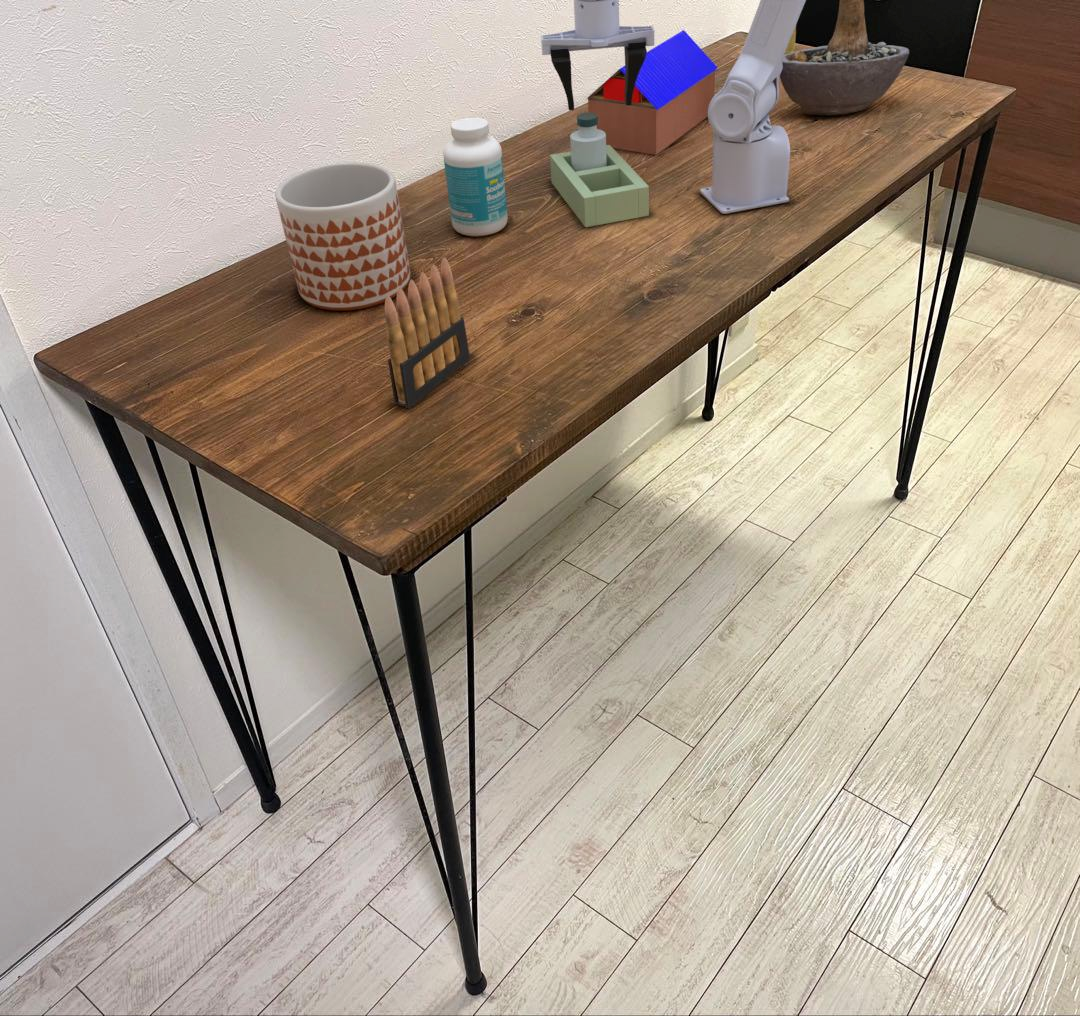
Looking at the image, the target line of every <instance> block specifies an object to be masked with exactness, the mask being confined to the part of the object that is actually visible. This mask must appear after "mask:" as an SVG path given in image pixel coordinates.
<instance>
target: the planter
mask: <svg viewBox="0 0 1080 1016" xmlns="http://www.w3.org/2000/svg"><path fill="white" fill-rule="evenodd" d="M864 1H865V0H839V5H838V12H837V20H836V23H835V27H834V28H835V29H834V32H833V35H832V36H831V39H830V40H829V41H828V44H827V45H821V46H817V47H810V48H805V49H799V50H795V51H794V52H791V53H790V54H785V55H784V56H783V58H782V65H783V69H782V71H781V74H780V77H779V80H780V83H781V85H782V87H783V89H784V91H785V93H786V94H787V96H788V98H789V99H790V101H792V102H793V103H795V104H798V105H799V106H800V107H801V110H802V112H803V113H804V114H805V115H815V116H841V115H848V114H852V113H857V112H860V111H861V112H862V111H864V110H865V109H867V108H868V107H869V106H870V105H871V104H872V103H873V102H875V101H877V100H878V99H880V98H882V97H883V96H884V95H885V94H886V93H887V92H888V91H889V89H890V88H891V87H892V85H893V84H894V83H895V82H896V80H897V78H898V77H899V75H900V73H901V72H902V70H903V68H904V67H905V64H906V62H907V60H908V58H909V55H910V50H909V48H908V47H904V46H899V45H892V44H891V45H890V44H889V45H887V43H885V42H884V41H880V42H878V43H876V44H875V43H872V42H871V41H869V39H868V33H867V25H866V17H865V2H864Z"/></svg>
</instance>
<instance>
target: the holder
mask: <svg viewBox="0 0 1080 1016" xmlns="http://www.w3.org/2000/svg"><path fill="white" fill-rule="evenodd" d="M606 158H607V166H605V167H600V168H594V169H588V170H583V171H577V172H575V171H574V170H573V169H572V162H571V151H566V152H559V153H554V154H553V153H552V154H550V155H549V164H550V165H549V166H550V182H551V185H552V186H553V187H554V188H555V189H556V191H557V192H558V193H559V195H560V196H561V197H562V199H563V200H564V202H565V203H566V204H567V205H568V207H569V208H570V209H571V210H572V212H573V213H574V215H575V216H576V217H577V219H578V220H579V221H580V222H581V224H582V225H583V226H584V228H590V227H595V226H600V225H607V224H612V223H618V222H622V221H628V220H633V219H638V218H643V217H644V218H645V217H649V216H650V186H649V185H648V184H647V183H646V181H644V179H643V178H642V177H641V176H640V175H639V174H638V173H637V172H636V170H634V168H632V167H631V166H630V164H628V162H626V160H625V159H624V158H623V157H622V156H621V155H620V154H619V153H618V152H617V150H615V148H612V147H611V146H610V145H606Z"/></svg>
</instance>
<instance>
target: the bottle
mask: <svg viewBox="0 0 1080 1016" xmlns="http://www.w3.org/2000/svg"><path fill="white" fill-rule="evenodd" d="M597 124H598V115H597V114H595V113H589V112H583V113H579V114H577V115H576V126H578V130H575V131H573V132H571V134H570V136H569V139H570V140H569V141H570V152H571V162H572V169H573V170H574V171H575V172H577V171H583V170H588V169H594V168H600V167H605V166H607V158H606V133H605V132H604V131H602V130H599V129H597Z"/></svg>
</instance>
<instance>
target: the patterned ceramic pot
mask: <svg viewBox="0 0 1080 1016" xmlns="http://www.w3.org/2000/svg"><path fill="white" fill-rule="evenodd" d="M398 194H399V193H398V188H397V182H396V177H395V175H394V174H393V172H392V171H391V170H389V169H388V168H386V167H384V166H382V165H379V164H375V163H371V162H364V161H363V162H361V161H339V162H331V163H324V164H320V165H315V166H313V167H310V168H305V169H303V170H300V171H297V172H295V173H293V174H292V175H289V176H288V177H287V178H285V179H283V180H282V181H281V182H280V183H279V184H278V186H277V187H276V189H275V193H274V197H275V201H276V205H277V209H278V214H279V218H280V222H281V227H282V230H283V234H284V239H285V242H286V247H287V250H288V255H289V258H290V263H291V266H292V270H293V274H294V279H295V282H296V287H297V290H298V294H299V296H300V297H301V299H302V300H303V301H304V302H305V303H307V304H309V305H310V306H313V307H315V308H317V309H321V310H327V311H338V312H339V311H343V312H344V311H355V310H361V309H366V308H370V307H374V306H377V305H381V304H382V303H385V300H386V296H389V297H390V298H391V299H393V298H395V297H397V291H398V288H401V289H402V290H403V291H404V290H405V289H406V287H408V286H409V282H410V280H411V275H412V274H411V268H410V262H409V255H408V248H407V243H406V236H405V229H404V225H403V219H402V212H401V205H400V200H399V195H398Z"/></svg>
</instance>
